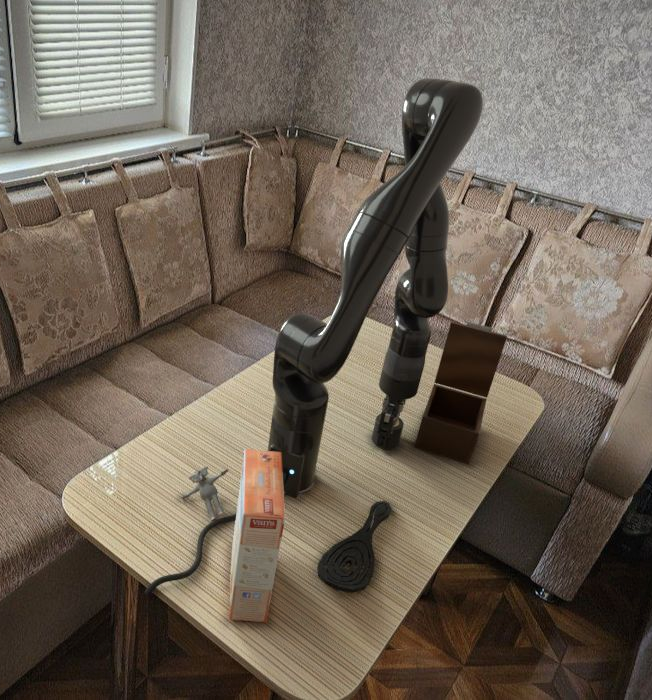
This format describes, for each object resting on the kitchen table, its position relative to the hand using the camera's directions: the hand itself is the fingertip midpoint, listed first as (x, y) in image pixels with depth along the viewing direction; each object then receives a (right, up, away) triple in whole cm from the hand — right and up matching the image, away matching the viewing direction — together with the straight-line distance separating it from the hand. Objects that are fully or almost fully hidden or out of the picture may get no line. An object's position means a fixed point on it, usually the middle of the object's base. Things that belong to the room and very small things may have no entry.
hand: (385, 438), depth 137 cm
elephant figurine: (-35, -9, -20) cm, 41 cm away
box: (+14, 0, +4) cm, 14 cm away
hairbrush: (-10, -15, -26) cm, 31 cm away
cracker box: (-28, -18, -34) cm, 48 cm away
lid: (+18, +16, +1) cm, 24 cm away
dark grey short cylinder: (0, 0, 0) cm, 1 cm away
